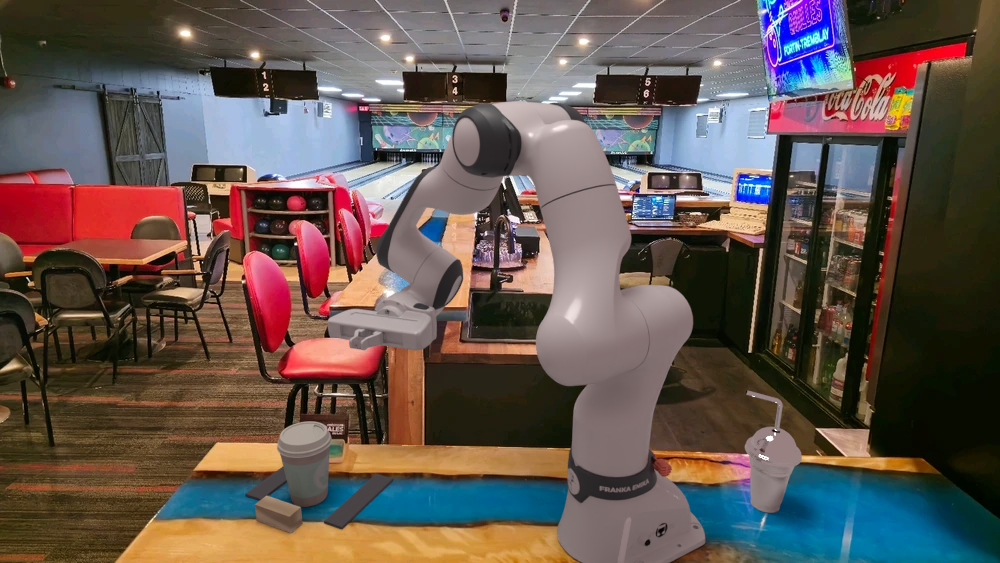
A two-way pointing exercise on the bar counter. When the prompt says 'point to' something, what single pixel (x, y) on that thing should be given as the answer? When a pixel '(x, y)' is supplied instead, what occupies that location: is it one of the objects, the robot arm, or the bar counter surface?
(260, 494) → the gutter strips
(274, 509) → the maple block
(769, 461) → the cup with straw
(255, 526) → the bar counter surface
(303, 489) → the coffee cup
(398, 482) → the bar counter surface
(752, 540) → the bar counter surface
